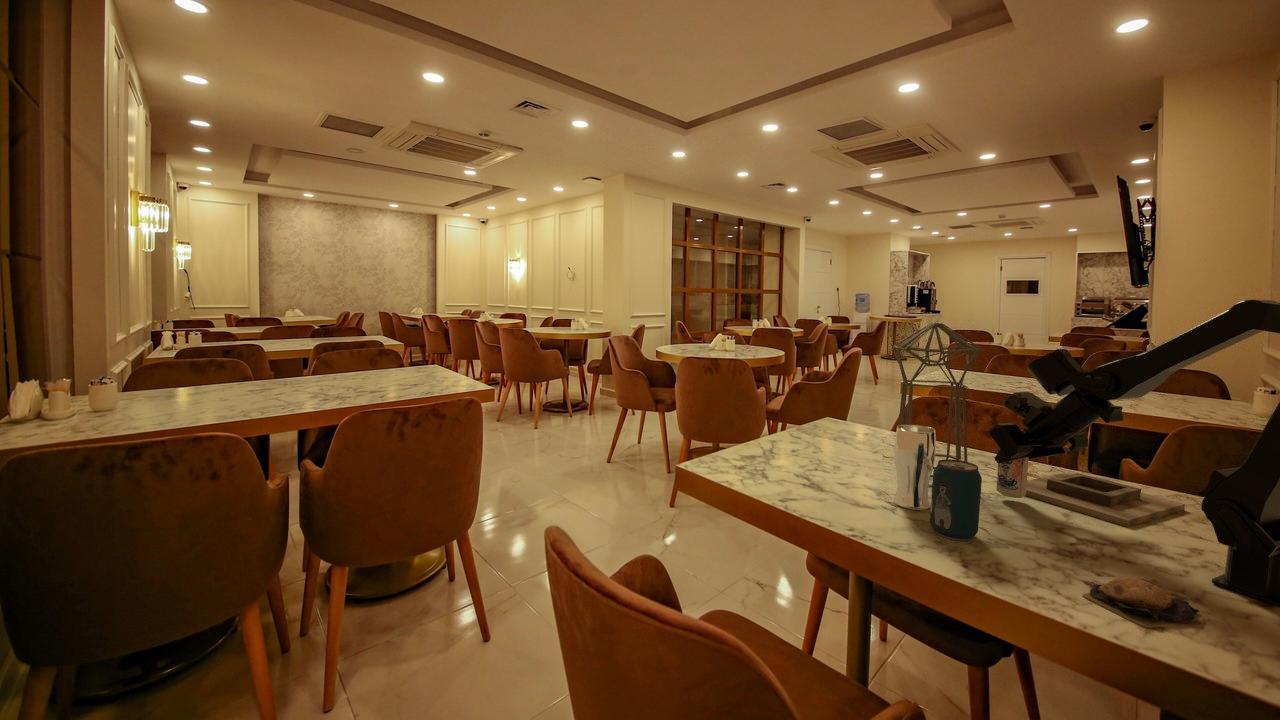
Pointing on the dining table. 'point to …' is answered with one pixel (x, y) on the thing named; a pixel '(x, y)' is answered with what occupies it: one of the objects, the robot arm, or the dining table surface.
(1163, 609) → the bread roll
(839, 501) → the dining table surface
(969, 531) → the soda can
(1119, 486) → the brown square frame
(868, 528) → the dining table surface
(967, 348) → the geometric lantern
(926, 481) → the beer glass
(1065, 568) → the dining table surface
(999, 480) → the beer can
